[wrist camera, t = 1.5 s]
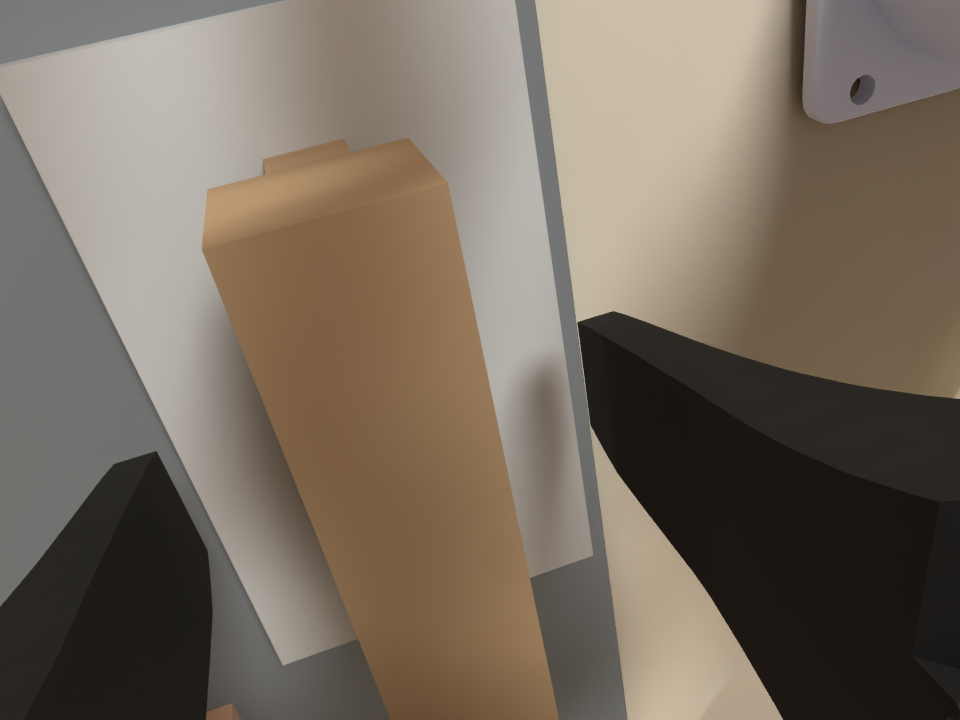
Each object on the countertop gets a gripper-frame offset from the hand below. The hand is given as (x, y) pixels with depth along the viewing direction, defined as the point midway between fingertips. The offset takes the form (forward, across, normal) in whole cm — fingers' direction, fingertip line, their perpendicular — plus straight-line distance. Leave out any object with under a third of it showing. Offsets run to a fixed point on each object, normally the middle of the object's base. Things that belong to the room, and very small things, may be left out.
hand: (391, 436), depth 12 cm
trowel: (+2, 0, 0) cm, 2 cm away
